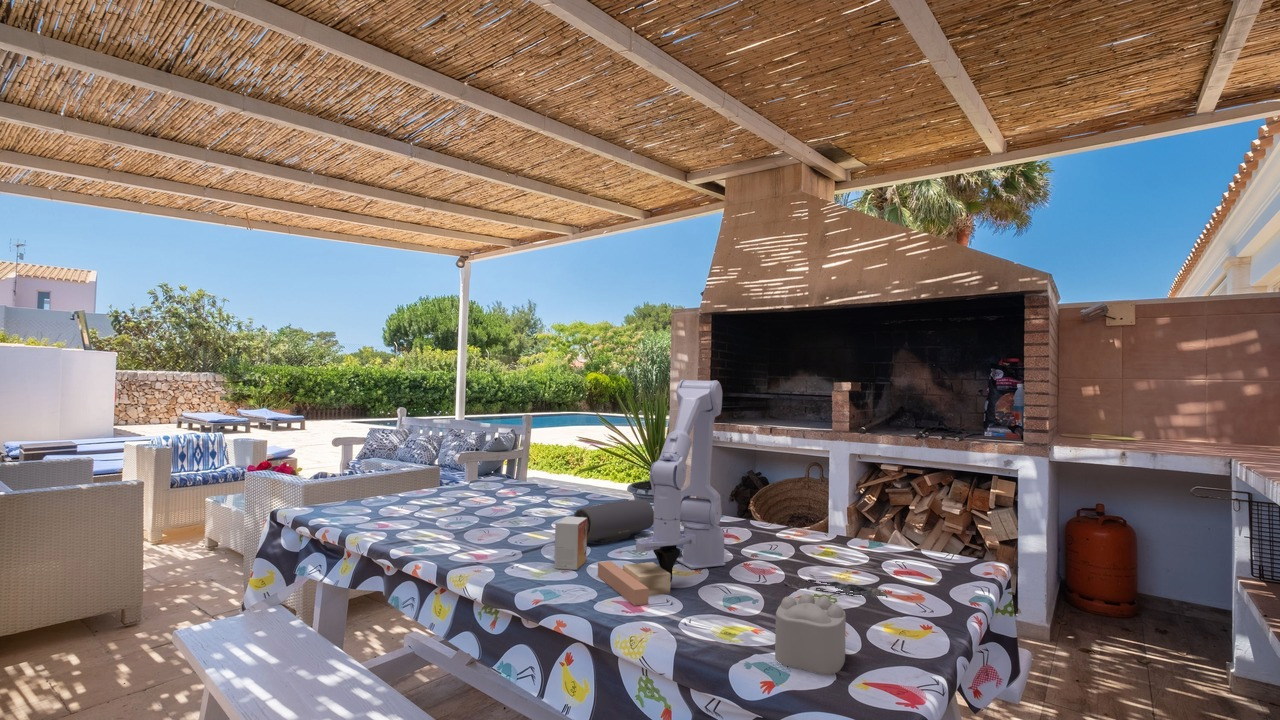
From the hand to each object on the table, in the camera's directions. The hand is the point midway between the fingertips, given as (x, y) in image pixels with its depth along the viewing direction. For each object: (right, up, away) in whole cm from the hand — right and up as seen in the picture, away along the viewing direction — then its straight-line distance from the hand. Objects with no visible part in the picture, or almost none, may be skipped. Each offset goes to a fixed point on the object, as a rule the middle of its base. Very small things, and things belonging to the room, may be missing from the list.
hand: (665, 581), depth 134 cm
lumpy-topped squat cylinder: (+22, -1, -32) cm, 39 cm away
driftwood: (+36, -3, +2) cm, 37 cm away
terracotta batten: (-9, -1, -2) cm, 10 cm away
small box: (-22, -1, +14) cm, 26 cm away
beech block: (-4, -1, -1) cm, 5 cm away
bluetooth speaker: (-13, -2, +40) cm, 42 cm away
